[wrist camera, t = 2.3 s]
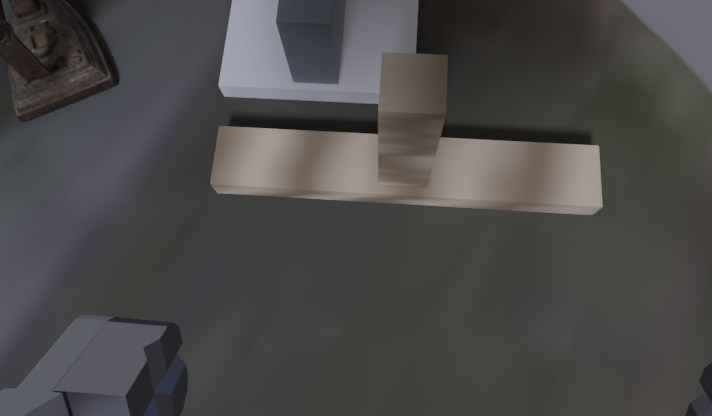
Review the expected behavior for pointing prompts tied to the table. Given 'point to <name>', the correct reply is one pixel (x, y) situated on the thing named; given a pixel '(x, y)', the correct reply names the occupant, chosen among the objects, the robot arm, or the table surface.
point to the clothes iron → (51, 57)
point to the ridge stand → (314, 48)
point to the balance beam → (409, 157)
